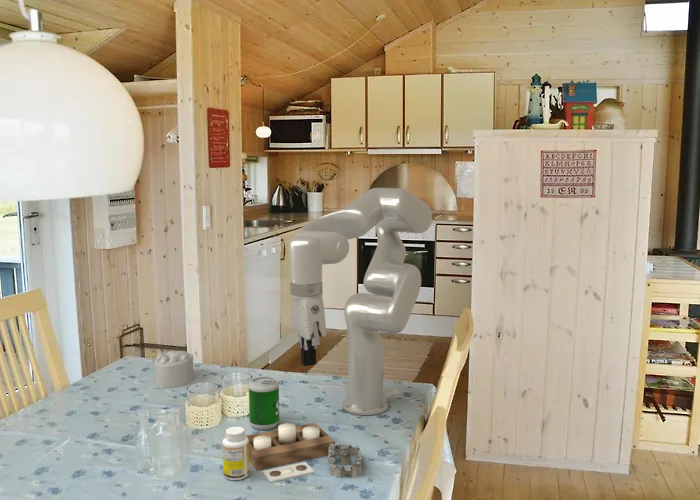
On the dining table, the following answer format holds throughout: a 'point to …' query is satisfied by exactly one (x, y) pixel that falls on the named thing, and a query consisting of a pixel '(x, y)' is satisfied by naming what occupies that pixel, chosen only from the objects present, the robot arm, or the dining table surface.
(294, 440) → the button middle
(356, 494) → the dining table surface
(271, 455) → the wooden compartment box
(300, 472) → the card
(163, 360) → the lumpy-topped squat cylinder
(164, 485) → the dining table surface
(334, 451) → the grey toy castle
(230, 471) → the supplement bottle
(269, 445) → the cream rounded cylinder
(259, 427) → the soda can
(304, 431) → the button
